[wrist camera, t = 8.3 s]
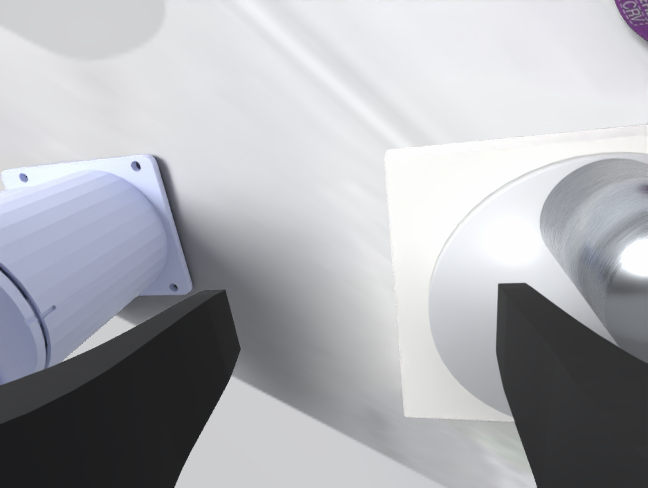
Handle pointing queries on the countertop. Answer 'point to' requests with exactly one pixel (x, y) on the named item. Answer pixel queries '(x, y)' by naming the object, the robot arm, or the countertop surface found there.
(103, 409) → the robot arm
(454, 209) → the kitchen scale
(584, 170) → the steel spacer
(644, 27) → the beverage can
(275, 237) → the countertop surface
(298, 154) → the countertop surface
